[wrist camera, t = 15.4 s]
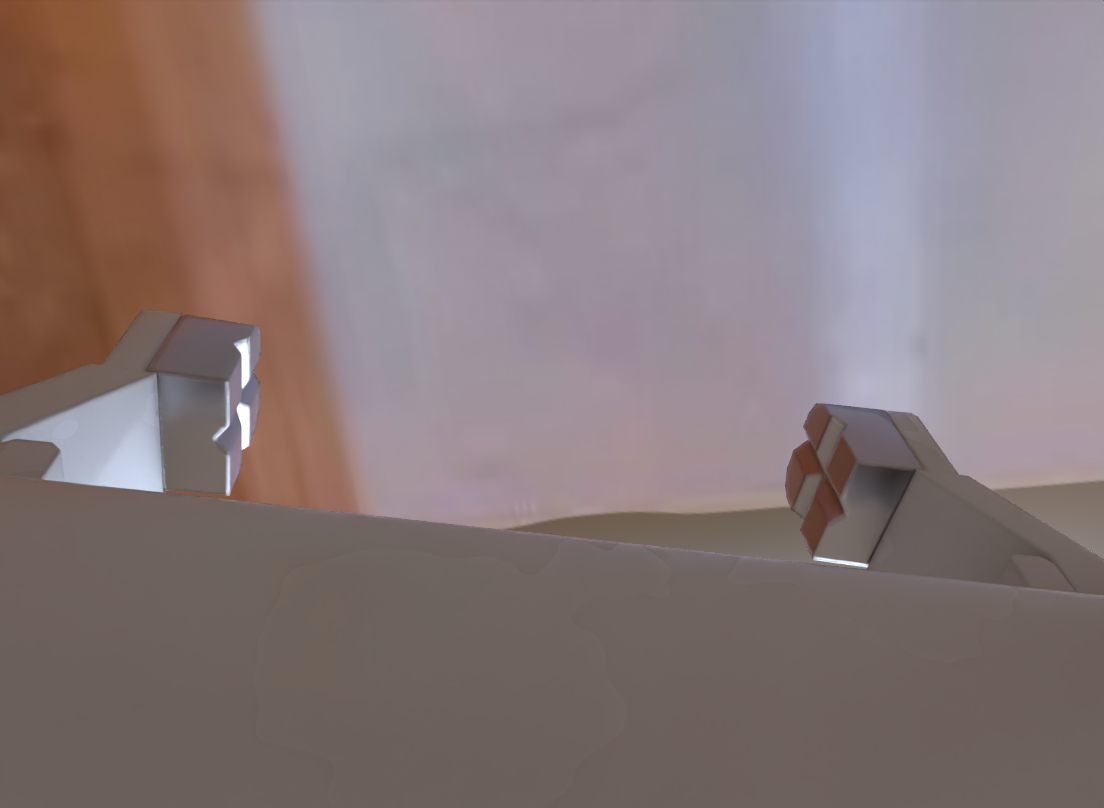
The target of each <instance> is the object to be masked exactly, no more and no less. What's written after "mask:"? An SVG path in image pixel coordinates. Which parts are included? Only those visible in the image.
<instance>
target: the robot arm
mask: <svg viewBox="0 0 1104 808" xmlns="http://www.w3.org/2000/svg"><path fill="white" fill-rule="evenodd" d="M260 355H261V342H260V331H259V327H258V326H255V325H249V324H242V323H236V322H229V321H223V320H216V319H210V318H204V317H197V316H191V315H183V314H182V313H174V312H165V311H156V310H142V311H141V312H140V313H139V314H138V315H137V317H136V318H135V319H134V321H133V322H132V324H131V325H130V326H129V328H128V329H127V330H126V332H125V333H124V334H123V336H122V337H121V339H120V340H119V341H118V343H117V344H116V345H115V347H114V348H113V349H112V351H111V352H110V354H109V355H108V356H107V358H106V359H105V360H104V362H103V363H102V364H101V365H93V364H88V365H86V366H83V367H80V368H77V369H74V370H72V371H69V372H66V373H63V374H60V375H58V376H55V377H52V378H49V379H46V380H44V381H41V382H38V383H35V384H32V385H30V386H27V387H24V388H21V389H18V390H16V391H13V392H10V393H7V394H4V395H2V396H0V808H1104V559H1103V558H1101V557H1099V556H1098V555H1096V554H1095V553H1093V552H1091V551H1090V550H1088V549H1086V548H1085V547H1083V546H1081V545H1080V544H1078V543H1076V542H1075V541H1073V540H1072V539H1070V538H1068V537H1067V536H1065V535H1064V534H1062V533H1060V532H1059V531H1057V530H1055V529H1054V528H1052V527H1050V526H1049V525H1047V524H1046V523H1044V522H1042V521H1041V520H1039V519H1037V518H1036V517H1034V516H1032V515H1031V514H1029V513H1028V512H1026V511H1024V510H1023V509H1021V508H1020V507H1018V506H1016V505H1015V504H1013V503H1011V502H1010V501H1008V500H1007V499H1005V498H1003V497H1001V496H1000V495H998V494H997V493H995V492H993V491H992V490H990V489H989V488H987V487H985V486H984V485H982V484H980V483H979V482H977V481H976V480H974V479H972V478H971V477H969V476H964V475H959V474H958V473H957V471H956V470H955V469H954V467H953V466H952V464H951V463H950V461H949V460H948V459H947V457H946V456H945V454H944V453H943V452H942V450H941V449H940V447H939V446H938V444H937V443H936V442H935V440H934V439H933V437H932V436H931V434H930V433H929V432H928V430H927V429H926V427H925V426H924V425H923V423H922V422H921V420H920V419H919V417H918V416H916V415H914V414H912V413H907V412H896V411H885V410H878V409H869V408H860V407H851V406H842V405H833V404H815V406H814V407H813V408H812V410H811V411H810V412H809V414H808V417H807V419H806V421H805V424H804V426H803V427H804V429H805V432H806V435H807V438H808V440H807V441H806V442H804V443H803V444H802V445H800V446H799V447H797V448H796V449H795V450H794V451H793V453H792V456H791V459H790V462H789V465H788V467H787V474H786V483H785V488H786V495H787V500H788V502H789V505H790V507H791V510H793V511H794V512H795V513H796V514H798V515H799V516H800V517H801V518H802V519H804V521H803V523H802V525H801V528H800V532H801V534H802V536H803V539H804V540H805V543H806V545H807V548H808V550H809V552H810V555H811V557H812V559H813V560H817V561H824V562H832V563H839V564H846V565H854V566H861V567H867V569H866V570H865V569H856V568H847V567H838V566H828V565H820V564H811V563H810V564H809V563H801V562H792V561H783V560H774V559H765V558H756V557H746V556H738V555H727V554H719V553H710V552H701V551H692V550H682V549H673V548H664V547H655V546H646V545H637V544H628V543H619V542H610V541H600V540H592V539H582V538H573V537H564V536H555V535H546V534H537V533H528V532H519V531H510V530H501V529H492V528H483V527H474V526H465V525H455V524H446V523H437V522H428V521H419V520H410V519H401V518H392V517H383V516H374V515H365V514H356V513H346V512H337V511H328V510H319V509H310V508H301V507H292V506H283V505H274V504H265V503H256V502H246V501H237V500H228V499H219V498H209V497H200V496H191V495H182V494H172V493H163V490H171V491H183V492H194V493H206V494H218V495H230V492H231V490H232V487H233V485H234V482H235V480H236V478H237V475H238V473H239V470H240V468H241V465H242V449H244V448H246V447H248V446H249V445H250V442H251V440H252V437H253V434H254V431H255V426H256V422H257V417H258V411H259V401H260V381H259V380H258V378H257V377H256V376H255V374H254V373H253V371H254V369H255V367H256V364H257V362H258V360H259V357H260Z"/></svg>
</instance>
